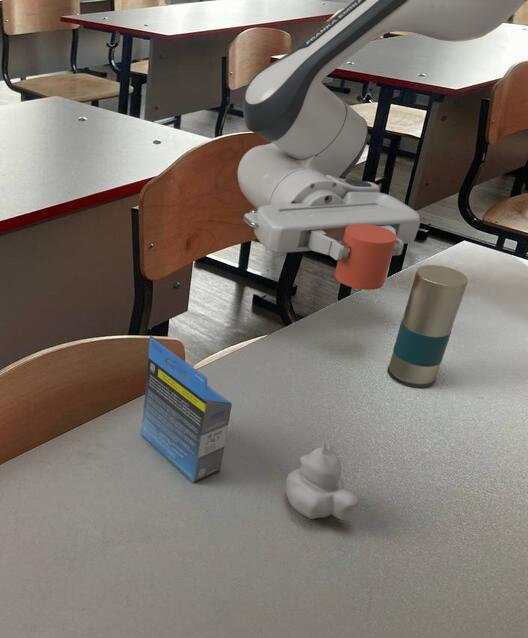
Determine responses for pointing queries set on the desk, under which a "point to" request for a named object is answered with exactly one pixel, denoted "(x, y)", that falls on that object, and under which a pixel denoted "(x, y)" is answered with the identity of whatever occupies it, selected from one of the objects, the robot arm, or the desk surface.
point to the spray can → (426, 325)
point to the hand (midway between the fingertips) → (371, 251)
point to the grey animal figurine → (320, 486)
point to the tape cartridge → (183, 414)
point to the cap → (366, 256)
